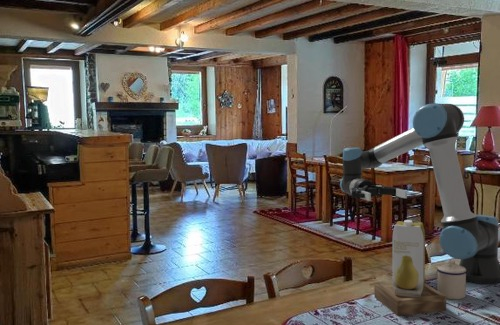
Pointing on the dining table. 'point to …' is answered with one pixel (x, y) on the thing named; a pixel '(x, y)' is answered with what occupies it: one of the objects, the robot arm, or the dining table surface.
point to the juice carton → (408, 259)
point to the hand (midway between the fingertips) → (388, 195)
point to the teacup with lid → (451, 280)
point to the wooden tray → (411, 300)
